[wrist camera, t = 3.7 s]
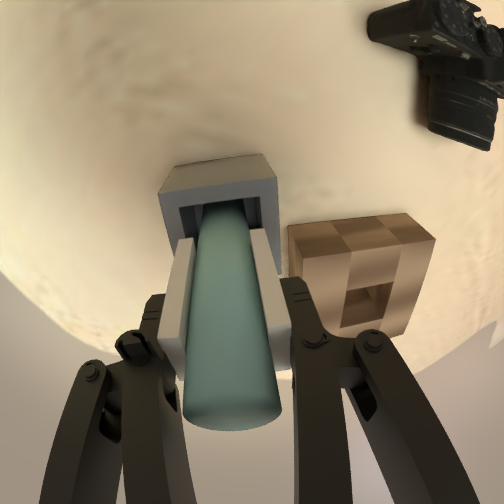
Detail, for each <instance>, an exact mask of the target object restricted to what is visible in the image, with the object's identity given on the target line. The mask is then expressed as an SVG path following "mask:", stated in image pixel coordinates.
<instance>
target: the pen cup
mask: <svg viewBox="0 0 504 504" xmlns="http://www.w3.org/2000/svg"><path fill="white" fill-rule="evenodd" d="M158 197H159V202H160V206H161V210H162V214H163V218H164V222H165V226H166V229H167V233H168V237H169V241H170V244H171V248H172V251H173V255H174V257H175V253H176V249H177V245H178V241H179V239H186V238H193V240H194V244H195V249H196V253H197V247H198V239H199V232H200V225H201V219H202V212H203V206H204V203H211V202H219V201H226V200H234V199H241V198H243V201H244V206H245V211H246V217H247V222H248V228H249V233H250V230H253V229H262V228H265V232H266V235H267V239H268V242H269V245H270V249H271V252H272V256H273V259H274V263H275V266H276V270H277V274H278V275H281V274H282V272H281V246H280V224H279V205H278V187H277V177H276V175H275V173H274V172H273V170H272V169H271V167H270V165H269V164H268V162H267V161H266V159H265V157H264V156H263V154H259V155H250V156H241V157H233V158H225V159H218V160H211V161H204V162H198V163H191V164H185V165H180V166H175V167H174V168H173V170H172V172H171V173H170V175H169V176H168V178H167V180H166V181H165V183H164V184H163V186H162V188H161V189H160V191H159V193H158ZM250 238H251V237H250Z"/></svg>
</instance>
